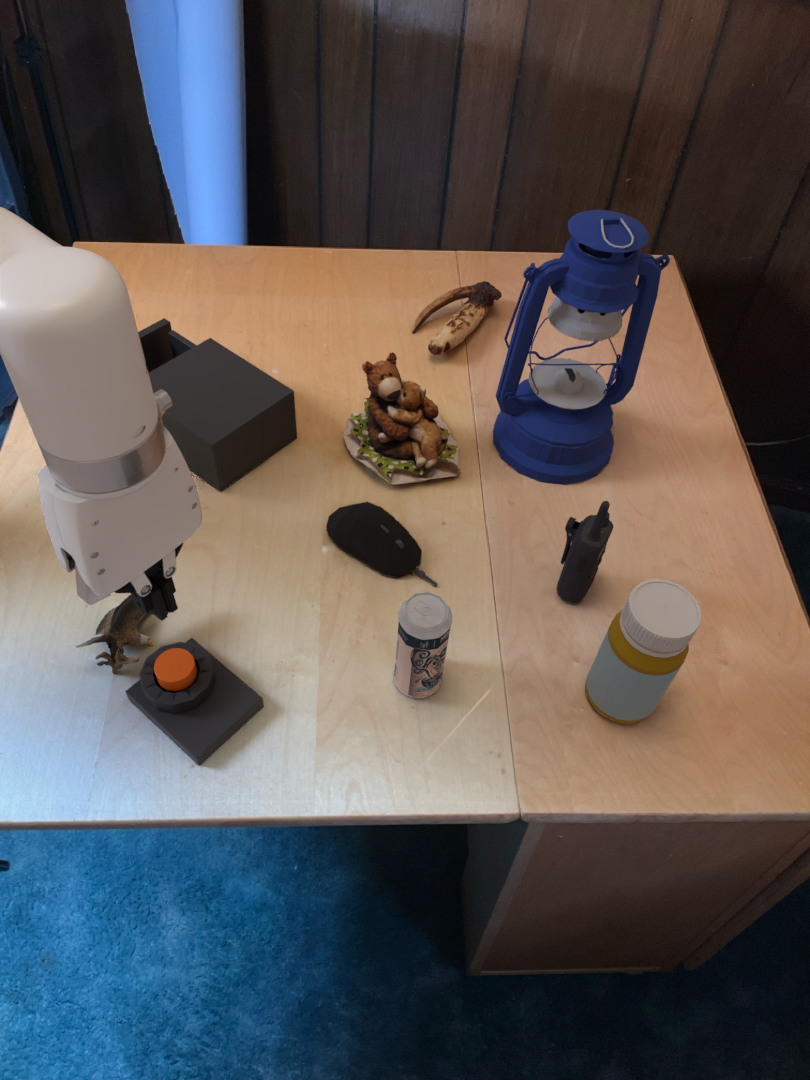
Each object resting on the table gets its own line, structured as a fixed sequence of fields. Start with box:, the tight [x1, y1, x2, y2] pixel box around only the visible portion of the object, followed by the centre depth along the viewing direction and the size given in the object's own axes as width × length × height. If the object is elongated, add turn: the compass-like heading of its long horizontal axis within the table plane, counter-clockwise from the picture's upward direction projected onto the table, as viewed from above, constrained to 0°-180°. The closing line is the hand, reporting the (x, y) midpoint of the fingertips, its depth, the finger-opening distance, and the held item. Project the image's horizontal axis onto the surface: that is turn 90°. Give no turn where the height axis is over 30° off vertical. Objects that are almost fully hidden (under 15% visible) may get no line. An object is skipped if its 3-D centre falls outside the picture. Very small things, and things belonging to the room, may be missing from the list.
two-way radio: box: [556, 500, 614, 605], centre depth 82 cm, size 6×4×15 cm
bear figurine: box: [342, 351, 462, 485], centre depth 95 cm, size 14×15×12 cm
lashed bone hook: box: [411, 280, 502, 356], centre depth 115 cm, size 9×5×18 cm
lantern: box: [492, 209, 671, 485], centre depth 91 cm, size 17×15×30 cm
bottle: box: [585, 578, 702, 725], centre depth 74 cm, size 7×7×15 cm
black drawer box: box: [149, 337, 298, 493], centre depth 97 cm, size 15×13×8 cm
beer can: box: [392, 591, 454, 699], centre depth 75 cm, size 5×5×12 cm
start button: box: [154, 648, 197, 691], centre depth 74 cm, size 4×4×2 cm
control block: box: [125, 637, 265, 767], centre depth 75 cm, size 10×8×4 cm
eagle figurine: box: [75, 594, 155, 675], centre depth 78 cm, size 8×7×9 cm
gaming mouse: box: [326, 501, 439, 588], centre depth 88 cm, size 6×15×4 cm, turn 51°
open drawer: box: [138, 317, 198, 373], centre depth 101 cm, size 19×11×6 cm, turn 50°
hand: (158, 605), depth 66 cm, fingers closed
